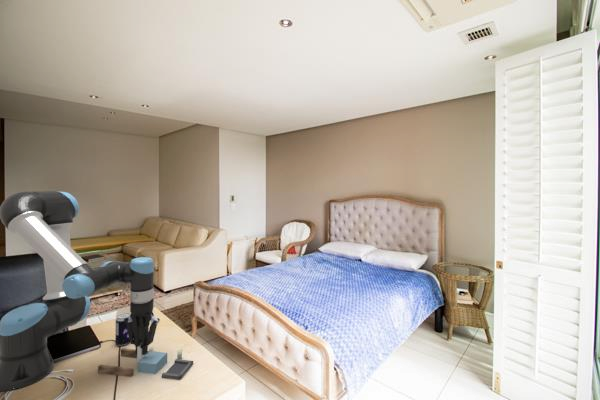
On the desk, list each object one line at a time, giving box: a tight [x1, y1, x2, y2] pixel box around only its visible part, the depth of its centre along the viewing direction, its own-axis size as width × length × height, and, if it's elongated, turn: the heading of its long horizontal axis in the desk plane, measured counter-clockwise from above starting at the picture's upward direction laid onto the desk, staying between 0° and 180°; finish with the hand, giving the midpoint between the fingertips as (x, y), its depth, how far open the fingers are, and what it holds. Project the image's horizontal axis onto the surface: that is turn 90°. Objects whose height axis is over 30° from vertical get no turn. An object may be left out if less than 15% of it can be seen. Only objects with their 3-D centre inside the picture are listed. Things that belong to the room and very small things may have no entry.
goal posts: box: [148, 346, 183, 360], centre depth 110 cm, size 14×2×3 cm, turn 83°
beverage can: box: [114, 312, 131, 347], centre depth 118 cm, size 6×6×12 cm
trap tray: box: [161, 358, 194, 381], centre depth 102 cm, size 7×9×1 cm
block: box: [137, 350, 168, 375], centre depth 103 cm, size 7×7×4 cm
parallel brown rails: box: [97, 347, 150, 378], centre depth 104 cm, size 13×12×2 cm
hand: (141, 362), depth 103 cm, fingers closed
